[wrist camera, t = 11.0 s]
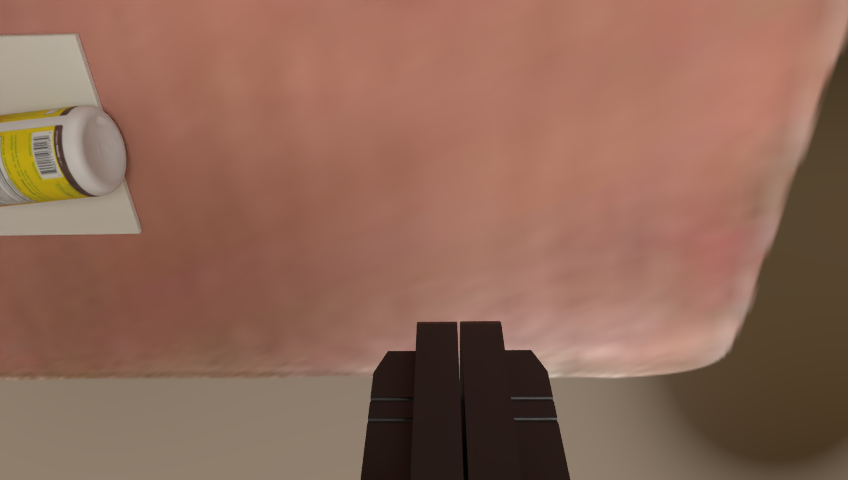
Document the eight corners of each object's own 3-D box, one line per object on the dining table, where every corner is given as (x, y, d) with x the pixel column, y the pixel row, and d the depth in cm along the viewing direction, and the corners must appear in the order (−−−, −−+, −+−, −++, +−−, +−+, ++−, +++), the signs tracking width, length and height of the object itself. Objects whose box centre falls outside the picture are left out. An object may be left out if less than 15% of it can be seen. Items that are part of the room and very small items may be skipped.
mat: (-139, 38, 37) (-178, 51, 35) (77, 33, 37) (53, 46, 34) (-39, 233, 45) (-65, 254, 42) (142, 230, 44) (125, 252, 42)
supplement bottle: (137, 140, 41) (-3, 156, 42) (87, 84, 36) (-71, 103, 37) (121, 212, 39) (-28, 226, 40) (64, 162, 34) (-105, 179, 35)
